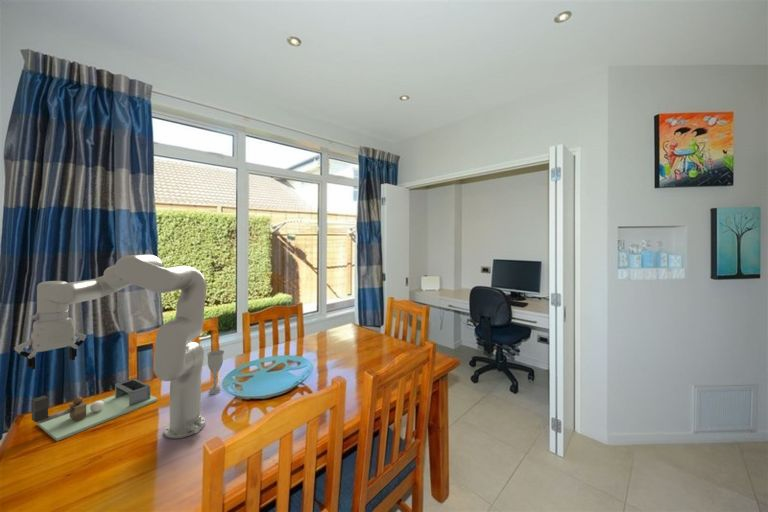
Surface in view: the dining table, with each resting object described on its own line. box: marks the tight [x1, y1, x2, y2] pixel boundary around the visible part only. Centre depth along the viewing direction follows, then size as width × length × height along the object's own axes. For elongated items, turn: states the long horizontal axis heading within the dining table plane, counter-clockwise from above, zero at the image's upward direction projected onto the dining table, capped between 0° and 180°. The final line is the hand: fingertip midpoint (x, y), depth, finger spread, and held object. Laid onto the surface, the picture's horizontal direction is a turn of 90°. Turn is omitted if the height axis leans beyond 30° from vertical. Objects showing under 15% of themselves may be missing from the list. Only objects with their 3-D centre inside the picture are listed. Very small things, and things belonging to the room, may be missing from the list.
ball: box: [90, 400, 104, 412], centre depth 115 cm, size 4×4×4 cm
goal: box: [114, 378, 151, 406], centre depth 126 cm, size 13×7×7 cm, turn 63°
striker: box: [31, 394, 87, 424], centre depth 106 cm, size 5×12×12 cm, turn 153°
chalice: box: [206, 349, 225, 395], centre depth 135 cm, size 7×7×18 cm
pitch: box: [36, 394, 159, 442], centre depth 117 cm, size 18×30×1 cm, turn 153°
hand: (52, 363), depth 105 cm, fingers open, 9 cm apart
